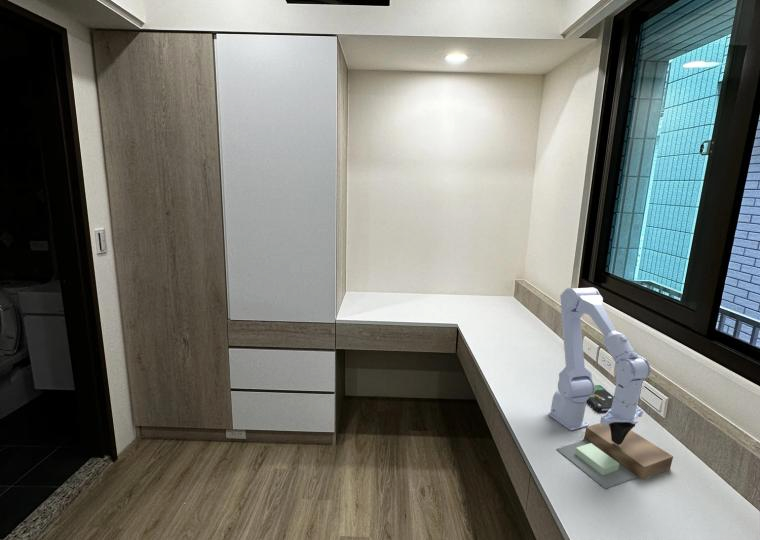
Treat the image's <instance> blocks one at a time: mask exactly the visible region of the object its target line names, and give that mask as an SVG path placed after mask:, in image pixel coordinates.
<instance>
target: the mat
mask: <svg viewBox="0 0 760 540" xmlns="http://www.w3.org/2000/svg"><path fill="white" fill-rule="evenodd" d="M586 444H590V442H588V441H587V440H585V439H584V440H581V441H578V442H574V443H571V444H567V445H564V446H561V447H559V448H558V447H557V448H556V451H558V453H560V455H562V456H564V458H566V459H567V460H569V461H570V462H571V463H572V464H573V465H574V466H576V467H577V468H578V469H579V470H581V471H583V473H585V474H586V475H587V477H590V478H591V479H592V480H593V481H595V483H597V484H599V486H600V487H602V488H603V489H604V490H607V489H610V488H612V487H615V486H618V485H620V484H623V483H626V482H629V481H632V480H634V479H637V478H638V477H637V476H636V475H634V474H633V473H631V472H630V471H629V470H627V469H626V468H625V467H623V466H622V465H620V464H619V469H618V470H617V471H614V472H611V473H608V474H605V475H602V474H600V473H599V472H598V471H596V470H595V469H594V468H593V467H591V466H590V465H589V464H587V463H586V462H585V461H584V460H582V459H581V458H580V457H578V456H577V455H576V454H575V450H576V447H580V446H583V445H586Z"/></svg>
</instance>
